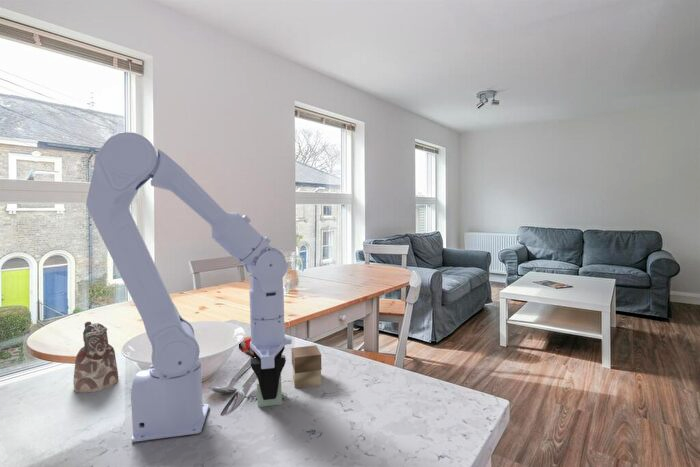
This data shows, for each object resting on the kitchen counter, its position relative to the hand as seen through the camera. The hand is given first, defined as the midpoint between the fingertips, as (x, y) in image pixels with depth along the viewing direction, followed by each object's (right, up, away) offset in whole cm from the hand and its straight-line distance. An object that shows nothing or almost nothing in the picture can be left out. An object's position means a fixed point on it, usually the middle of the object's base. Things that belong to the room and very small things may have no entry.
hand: (269, 391), depth 65 cm
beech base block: (+6, -1, +7) cm, 9 cm away
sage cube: (0, -1, 0) cm, 1 cm away
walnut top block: (+6, +2, +7) cm, 9 cm away
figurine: (-35, -2, +7) cm, 36 cm away
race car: (-7, -1, +22) cm, 23 cm away
